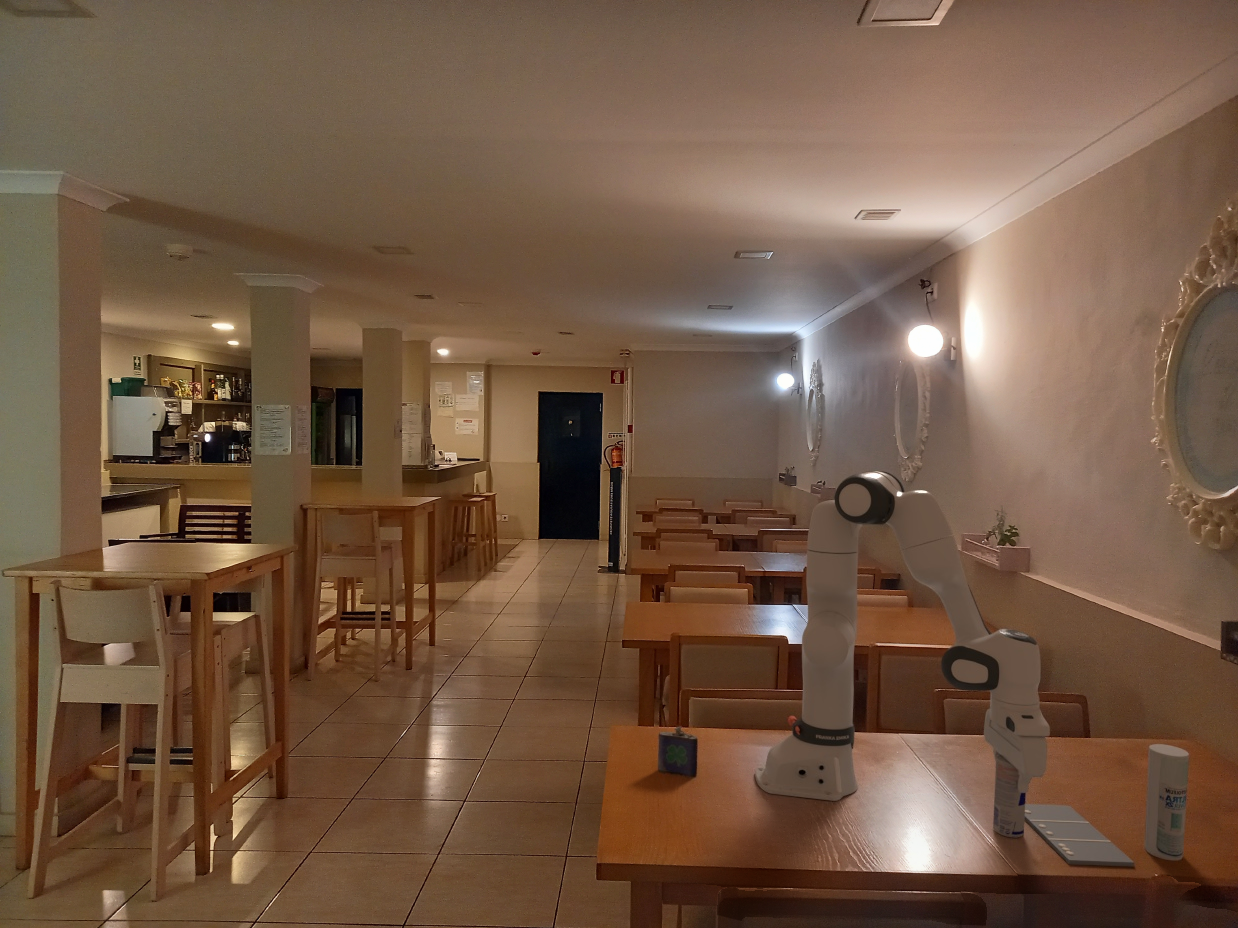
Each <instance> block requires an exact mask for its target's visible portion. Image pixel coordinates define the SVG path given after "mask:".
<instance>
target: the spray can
mask: <svg viewBox="0 0 1238 928" xmlns="http://www.w3.org/2000/svg"><path fill="white" fill-rule="evenodd" d="M1147 762H1148V763H1147V786H1146V787H1147V788H1146V804H1145V805H1146V807H1145V830H1144V850H1145V851H1146V852H1147V853H1148V854H1149V855H1152V856H1154V857H1156V858H1159V859H1161V860H1166V861H1167V860H1168V861H1180V860H1182V859H1183V857H1184V845H1185V844H1184V842H1185V829H1186V814H1187V813H1186V812H1187V797H1188V783H1189V782H1188V781H1189V770H1190V769H1189V766H1190V753H1189V752H1188V751H1187V750H1185V749H1184V748H1180V747H1177V746H1174V745H1170V744H1163V743H1162V744H1161V743H1156V744H1155V743H1154V744H1150V745H1149V746H1148V761H1147Z"/></svg>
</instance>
